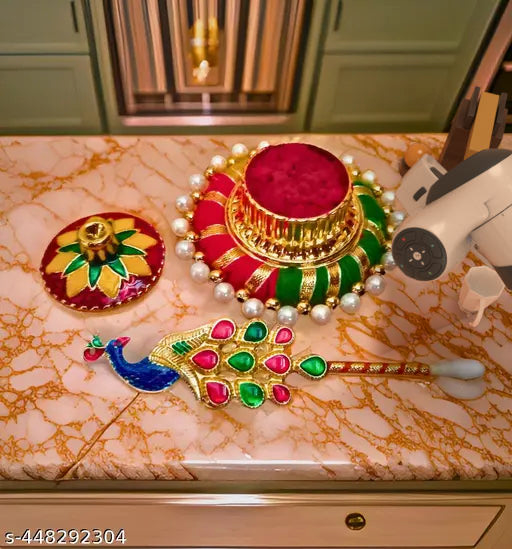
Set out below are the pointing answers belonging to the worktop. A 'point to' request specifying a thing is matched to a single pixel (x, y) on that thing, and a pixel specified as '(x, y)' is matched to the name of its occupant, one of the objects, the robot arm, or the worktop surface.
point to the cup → (479, 291)
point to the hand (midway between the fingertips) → (474, 199)
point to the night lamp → (413, 156)
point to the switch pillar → (461, 130)
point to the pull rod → (482, 124)
